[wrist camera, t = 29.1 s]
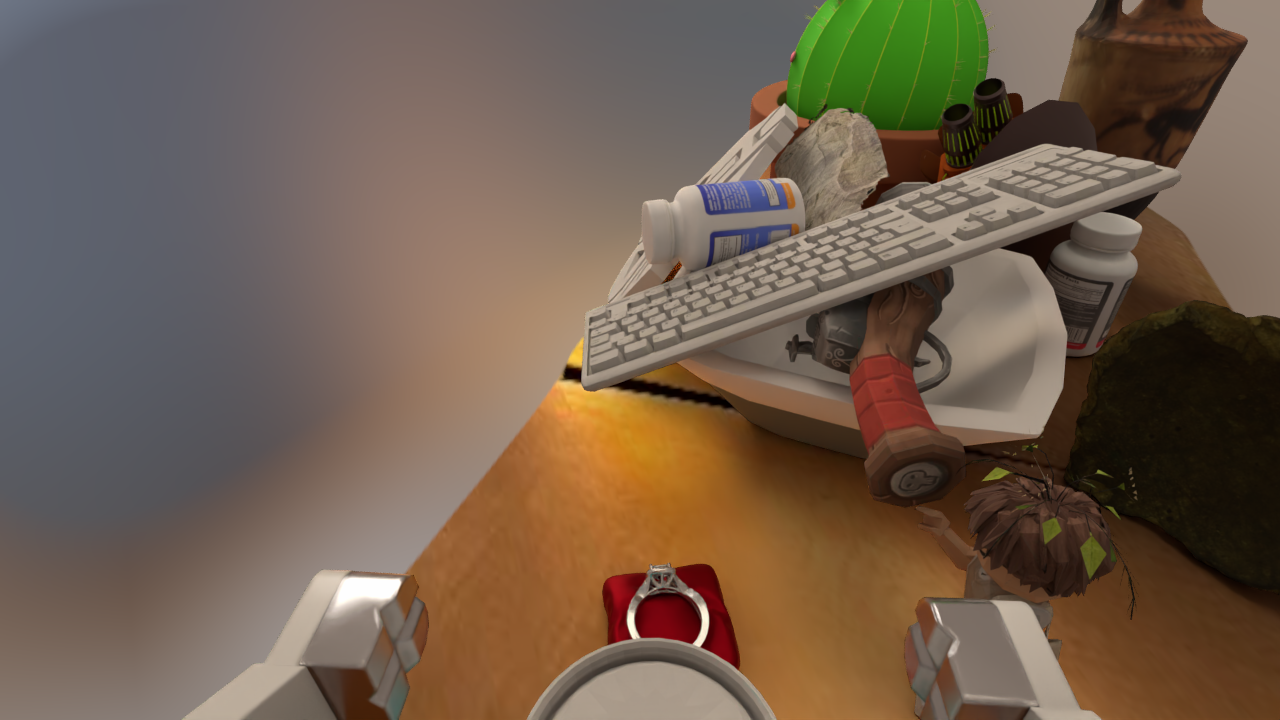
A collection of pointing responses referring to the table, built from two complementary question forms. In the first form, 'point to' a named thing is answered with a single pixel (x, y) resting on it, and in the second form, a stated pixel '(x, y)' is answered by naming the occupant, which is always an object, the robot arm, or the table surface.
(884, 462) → the toy gun
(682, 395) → the table surface
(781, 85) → the potted cactus
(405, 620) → the robot arm
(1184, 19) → the vase
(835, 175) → the stone fragment
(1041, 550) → the toy
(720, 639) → the engagement ring
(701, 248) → the pill bottle
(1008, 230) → the keyboard
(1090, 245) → the pill bottle
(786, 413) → the bowl
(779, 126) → the emblem
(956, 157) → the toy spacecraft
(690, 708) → the beverage can
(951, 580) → the table surface
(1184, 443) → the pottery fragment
